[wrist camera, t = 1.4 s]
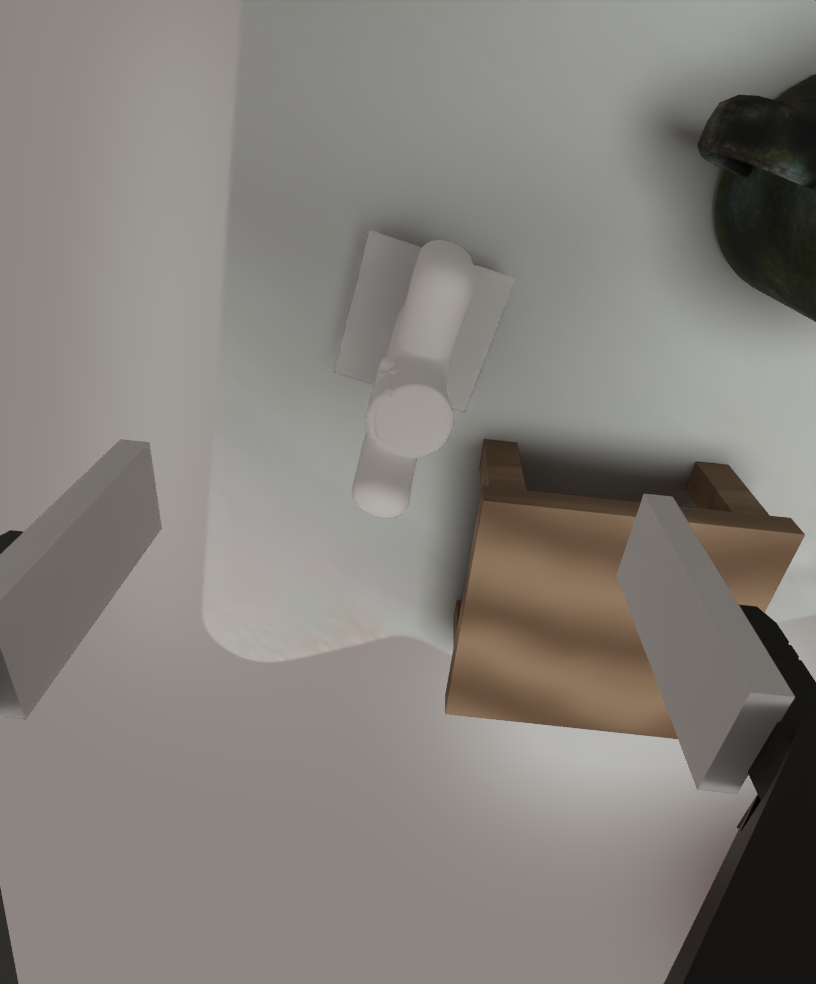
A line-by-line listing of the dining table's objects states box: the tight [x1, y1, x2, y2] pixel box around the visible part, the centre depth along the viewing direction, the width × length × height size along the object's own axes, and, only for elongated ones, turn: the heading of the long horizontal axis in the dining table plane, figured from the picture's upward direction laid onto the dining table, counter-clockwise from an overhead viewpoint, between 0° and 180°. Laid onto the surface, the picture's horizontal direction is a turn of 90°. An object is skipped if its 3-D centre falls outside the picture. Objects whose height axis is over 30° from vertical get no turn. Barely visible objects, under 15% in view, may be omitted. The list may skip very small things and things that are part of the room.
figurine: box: [334, 230, 516, 518], centre depth 27 cm, size 7×9×15 cm
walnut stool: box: [445, 439, 805, 739], centre depth 38 cm, size 16×16×8 cm
